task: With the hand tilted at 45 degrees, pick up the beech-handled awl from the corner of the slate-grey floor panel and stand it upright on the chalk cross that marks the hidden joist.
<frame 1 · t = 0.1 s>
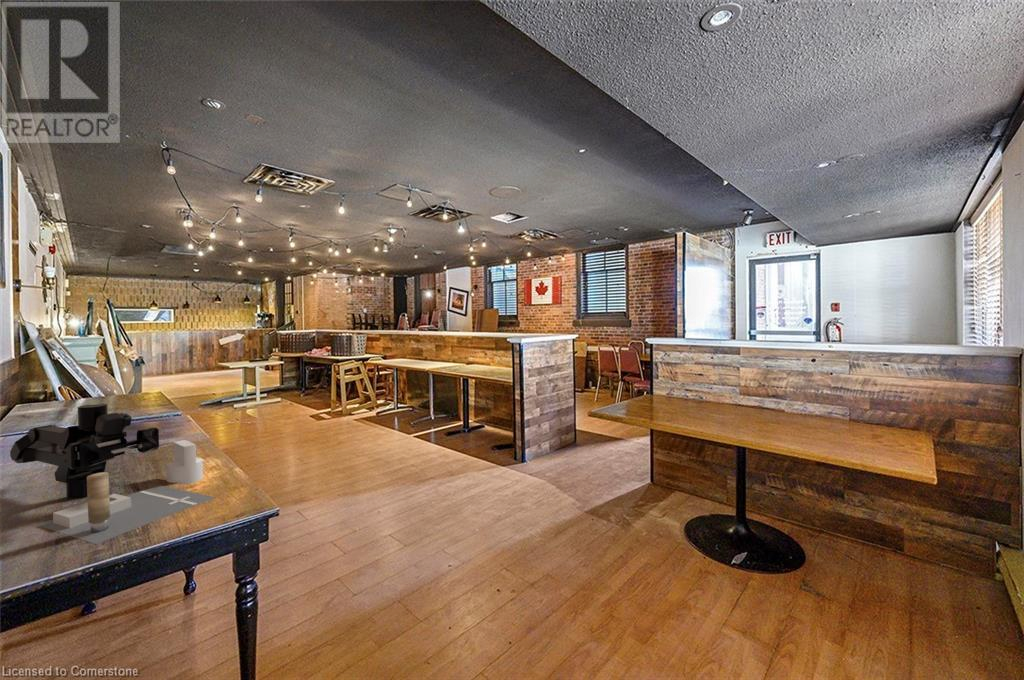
hand: (135, 450, 107), 17 cm above the table, tool horizontal, fingers open, 9 cm apart
floor panel: (132, 514, 107), on the table
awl: (99, 529, 97), point 1 cm above the table, touching floor panel
white flat block: (93, 514, 104), point 1 cm above the table, touching floor panel
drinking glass: (185, 481, 130), on the table
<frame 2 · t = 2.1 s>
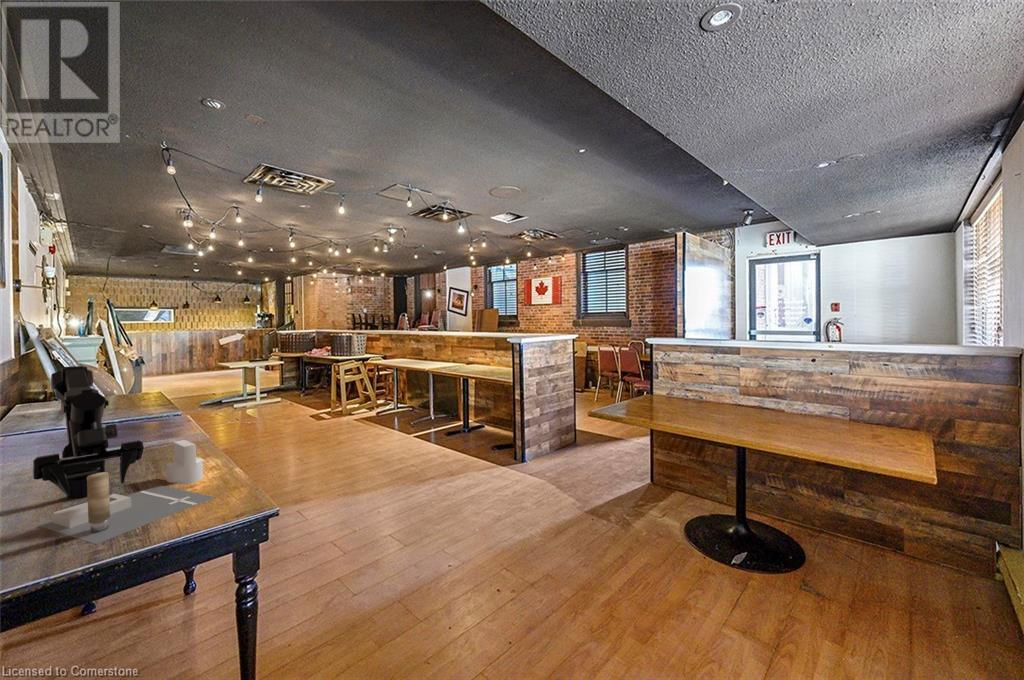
hand: (96, 488, 98), 10 cm above the table, tool tilted 45°, fingers open, 9 cm apart
nothing on the table moved.
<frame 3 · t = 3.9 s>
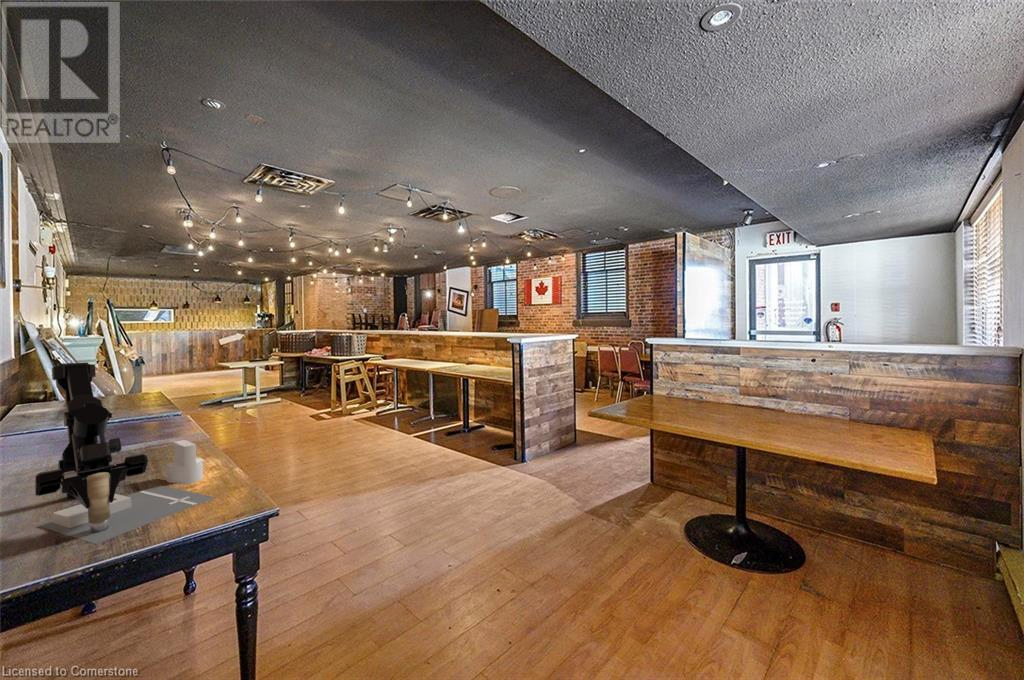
hand: (99, 504, 96), 8 cm above the table, tool tilted 45°, fingers closed on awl, 4 cm apart
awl: (99, 529, 97), point 1 cm above the table, touching floor panel, gripper
everything else where it was.
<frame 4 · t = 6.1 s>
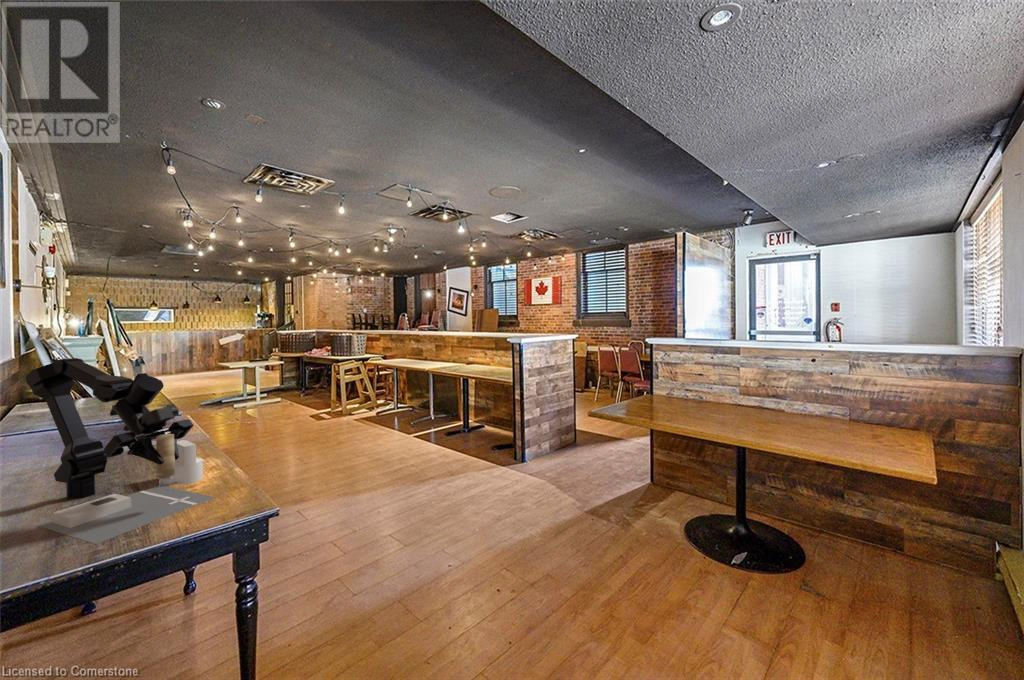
hand: (169, 460, 109), 13 cm above the table, tool tilted 45°, fingers closed on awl, 4 cm apart
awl: (166, 484, 109), point 7 cm above the table, touching gripper
everything else where it was.
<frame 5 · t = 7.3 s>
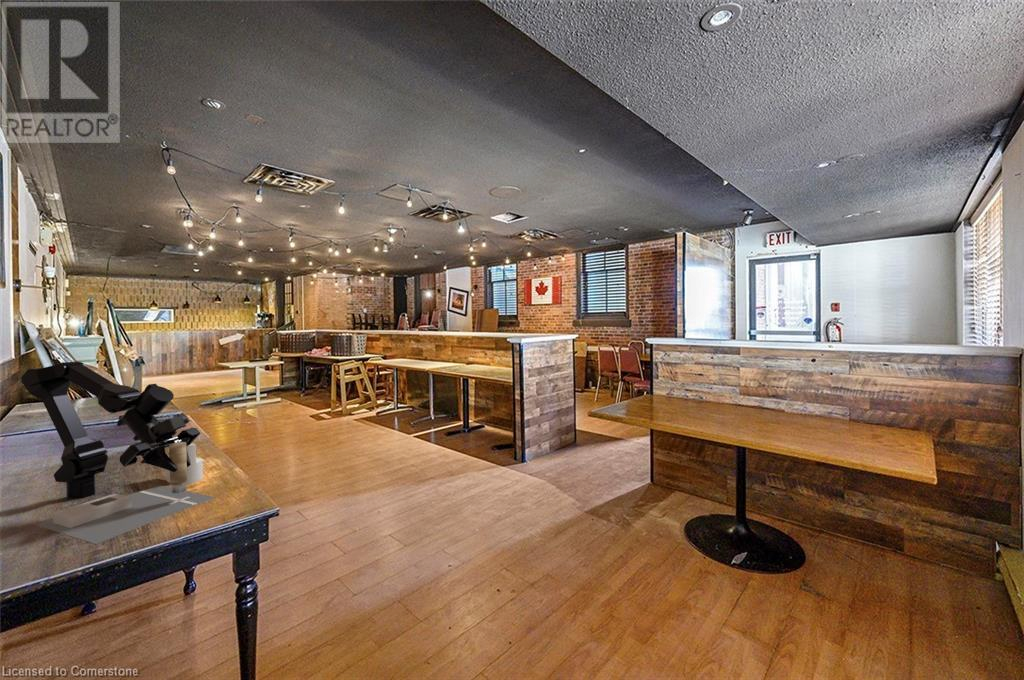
hand: (182, 468, 112), 10 cm above the table, tool tilted 45°, fingers closed on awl, 4 cm apart
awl: (178, 490, 113), point 4 cm above the table, touching gripper
everything else where it was.
when the fingers open (9 cm above the table, at t = 8.3 s): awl drops 1 cm, resting on floor panel.
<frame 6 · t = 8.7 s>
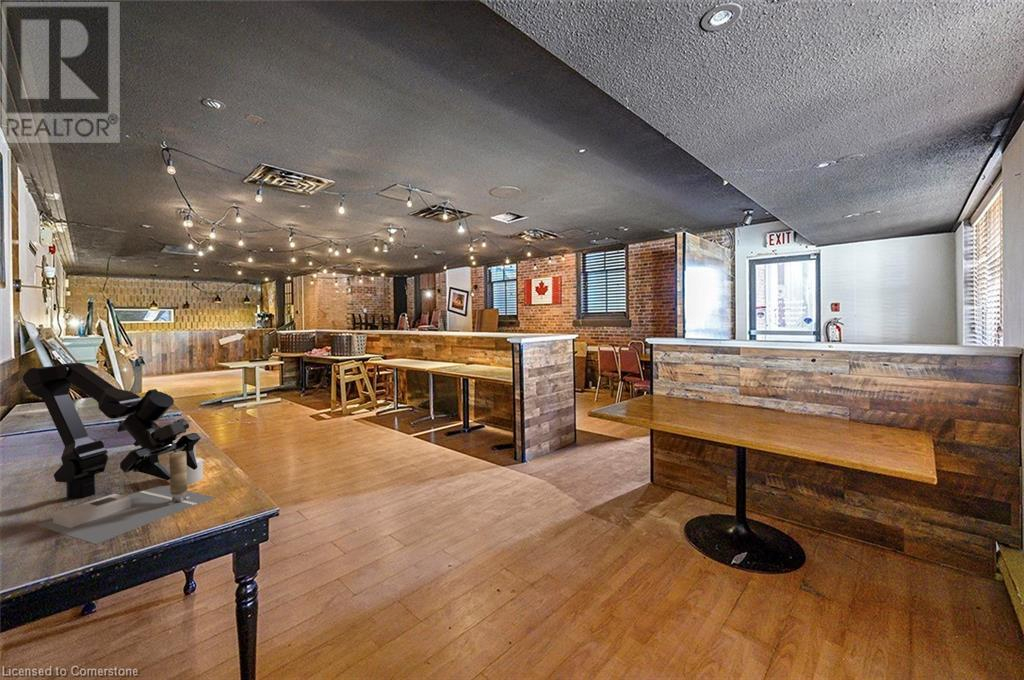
hand: (183, 473, 112), 9 cm above the table, tool tilted 45°, fingers open, 8 cm apart
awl: (179, 500, 113), point 1 cm above the table, touching floor panel
everything else where it was.
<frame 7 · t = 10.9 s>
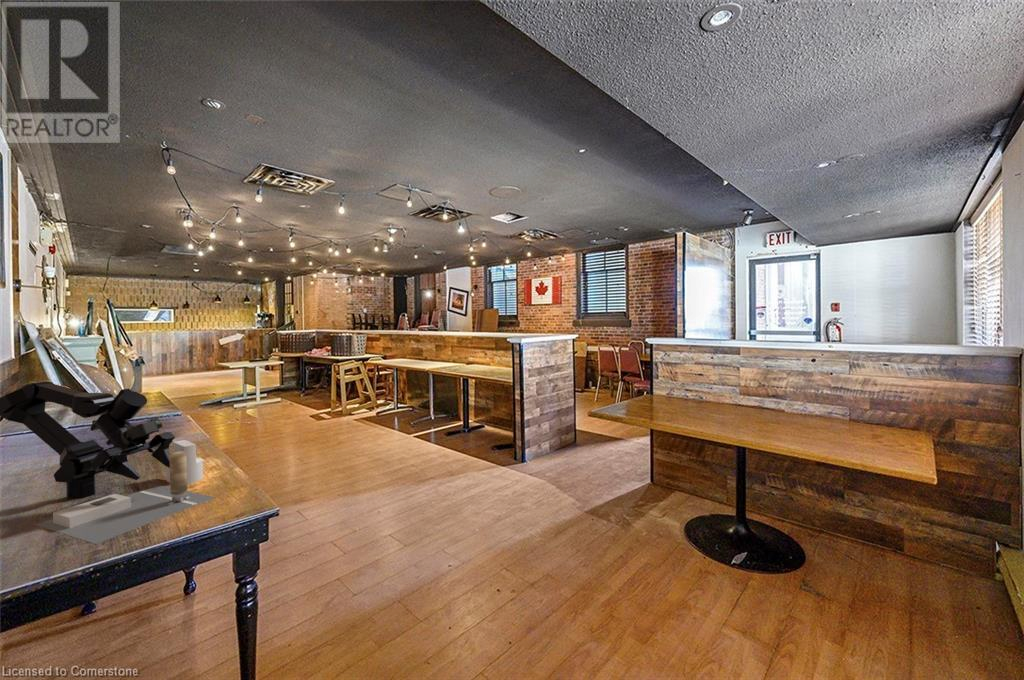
hand: (155, 472, 114), 9 cm above the table, tool tilted 45°, fingers open, 9 cm apart
nothing on the table moved.
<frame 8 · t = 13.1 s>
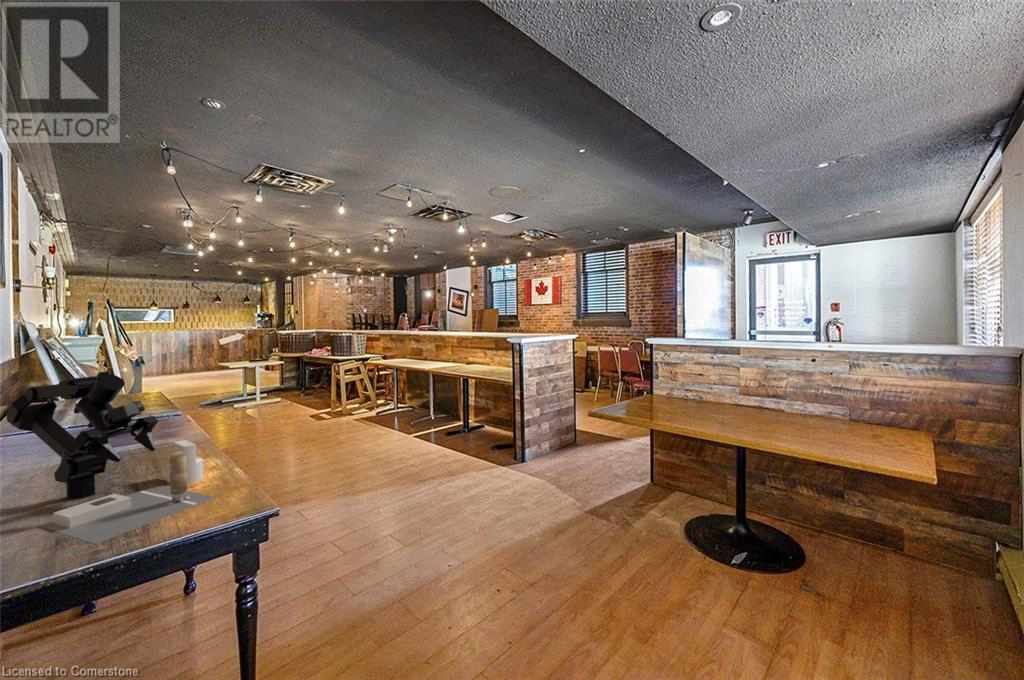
hand: (137, 455, 113), 14 cm above the table, tool tilted 45°, fingers open, 9 cm apart
nothing on the table moved.
at the end: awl 0.0 cm from the target spot, point 1.3 cm above the table; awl tilted 0°; the gripper is holding nothing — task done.
